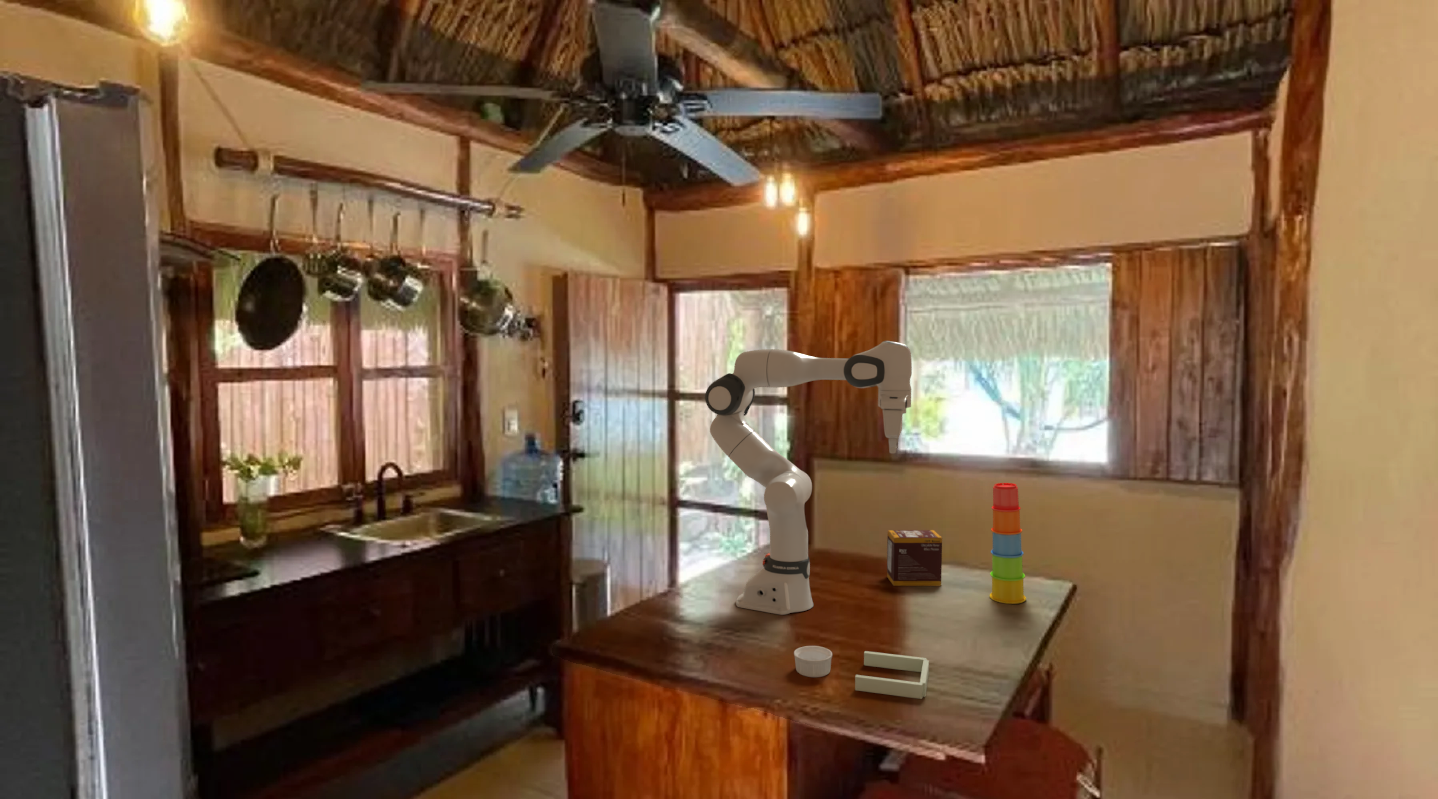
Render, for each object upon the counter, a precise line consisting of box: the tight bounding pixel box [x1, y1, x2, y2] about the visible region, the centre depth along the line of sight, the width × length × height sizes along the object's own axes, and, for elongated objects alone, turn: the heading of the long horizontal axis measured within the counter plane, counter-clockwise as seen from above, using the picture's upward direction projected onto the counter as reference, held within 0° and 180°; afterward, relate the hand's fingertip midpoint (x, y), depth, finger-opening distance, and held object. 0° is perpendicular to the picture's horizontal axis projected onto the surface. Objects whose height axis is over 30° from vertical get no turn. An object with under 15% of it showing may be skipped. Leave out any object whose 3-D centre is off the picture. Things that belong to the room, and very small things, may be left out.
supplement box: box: [886, 529, 943, 587], centre depth 251 cm, size 10×15×16 cm
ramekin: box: [793, 645, 833, 678], centre depth 182 cm, size 9×9×4 cm
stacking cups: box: [989, 482, 1027, 605], centre depth 232 cm, size 10×10×35 cm
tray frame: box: [854, 650, 930, 700], centre depth 176 cm, size 15×15×3 cm
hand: (893, 450), depth 215 cm, fingers open, 8 cm apart
